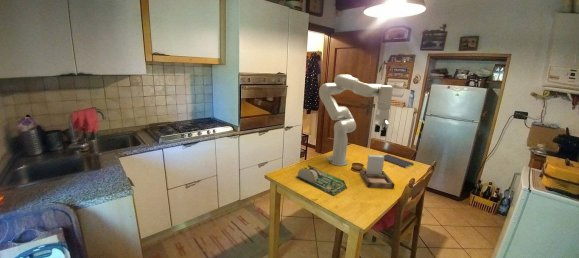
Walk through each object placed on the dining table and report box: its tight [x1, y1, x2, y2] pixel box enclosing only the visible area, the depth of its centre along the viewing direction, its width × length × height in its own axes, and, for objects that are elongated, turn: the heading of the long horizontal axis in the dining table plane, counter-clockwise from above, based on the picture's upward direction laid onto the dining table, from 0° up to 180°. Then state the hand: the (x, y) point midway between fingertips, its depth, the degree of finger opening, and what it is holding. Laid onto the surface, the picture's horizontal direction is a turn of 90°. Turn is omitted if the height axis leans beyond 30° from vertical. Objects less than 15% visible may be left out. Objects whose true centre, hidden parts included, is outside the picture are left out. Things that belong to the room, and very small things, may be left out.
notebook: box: [383, 154, 414, 169], centre depth 182 cm, size 13×2×21 cm
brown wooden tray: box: [359, 169, 396, 189], centre depth 147 cm, size 15×18×4 cm
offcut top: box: [368, 178, 387, 183], centre depth 144 cm, size 10×7×2 cm
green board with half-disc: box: [295, 164, 348, 197], centre depth 146 cm, size 33×8×20 cm
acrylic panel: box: [365, 154, 385, 175], centre depth 150 cm, size 9×3×15 cm, turn 89°
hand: (379, 134), depth 146 cm, fingers open, 9 cm apart
